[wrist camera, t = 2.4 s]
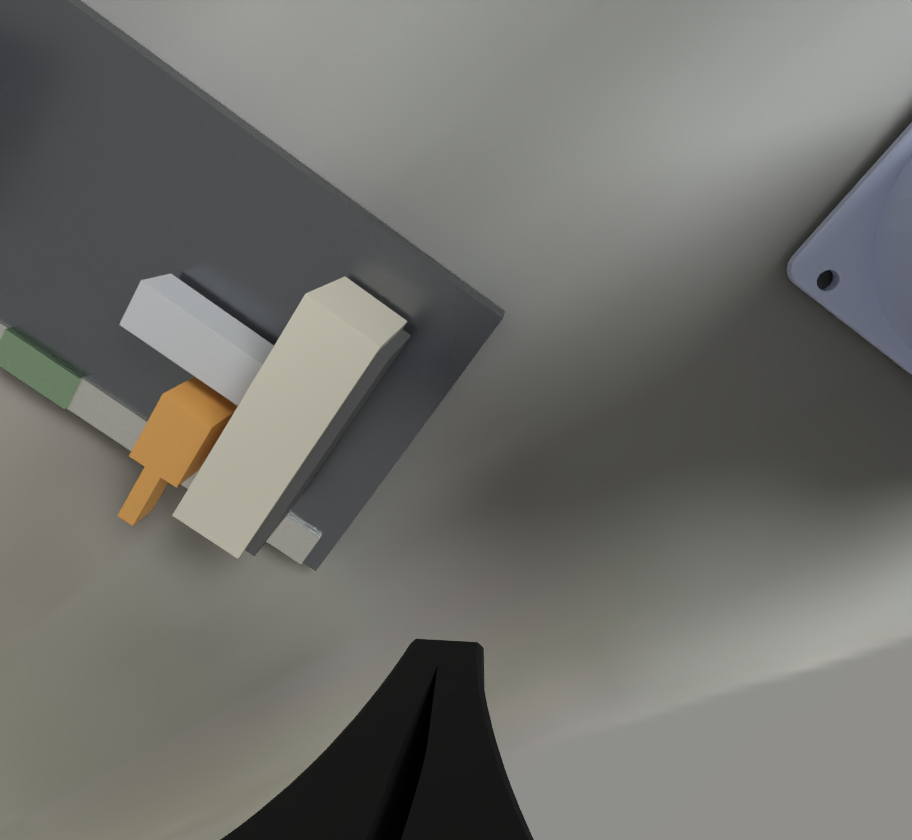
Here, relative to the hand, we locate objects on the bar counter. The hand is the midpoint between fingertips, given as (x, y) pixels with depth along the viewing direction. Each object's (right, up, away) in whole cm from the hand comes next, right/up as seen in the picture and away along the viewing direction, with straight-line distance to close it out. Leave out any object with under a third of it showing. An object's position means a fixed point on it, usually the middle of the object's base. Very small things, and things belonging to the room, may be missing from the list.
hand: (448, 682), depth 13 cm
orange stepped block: (-8, +5, +7) cm, 11 cm away
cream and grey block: (-5, +7, +6) cm, 10 cm away
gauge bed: (-9, +10, +6) cm, 14 cm away
